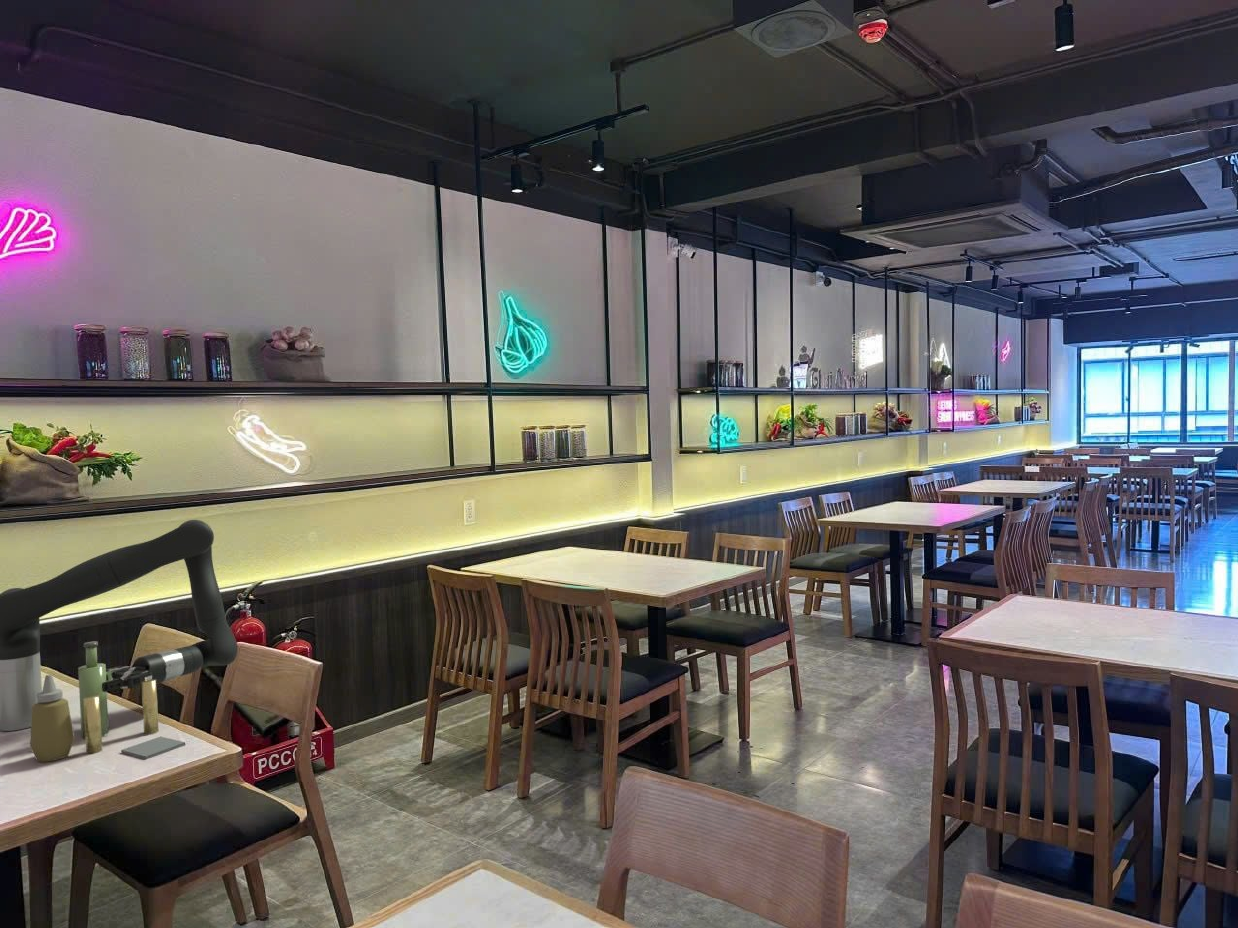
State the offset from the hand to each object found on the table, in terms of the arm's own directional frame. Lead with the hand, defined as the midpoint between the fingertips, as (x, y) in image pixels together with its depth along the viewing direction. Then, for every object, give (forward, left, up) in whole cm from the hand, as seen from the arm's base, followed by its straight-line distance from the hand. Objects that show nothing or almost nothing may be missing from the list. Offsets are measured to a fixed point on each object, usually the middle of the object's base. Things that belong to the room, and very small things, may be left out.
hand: (92, 685), depth 196 cm
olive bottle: (0, 0, -12) cm, 12 cm away
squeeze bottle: (+6, -13, -12) cm, 18 cm away
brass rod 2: (+11, +6, -12) cm, 17 cm away
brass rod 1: (+11, -7, -12) cm, 17 cm away
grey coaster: (+22, 0, -12) cm, 25 cm away
